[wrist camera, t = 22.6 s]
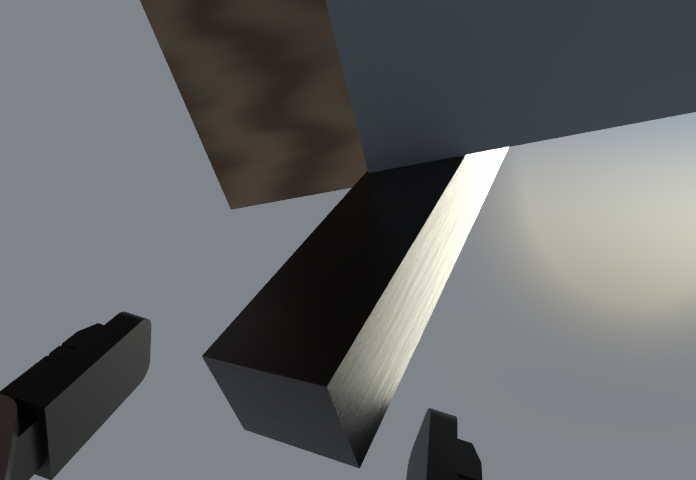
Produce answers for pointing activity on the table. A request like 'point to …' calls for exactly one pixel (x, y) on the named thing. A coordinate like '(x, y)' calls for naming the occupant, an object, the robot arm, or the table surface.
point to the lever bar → (351, 308)
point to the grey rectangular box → (508, 71)
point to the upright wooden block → (263, 94)
